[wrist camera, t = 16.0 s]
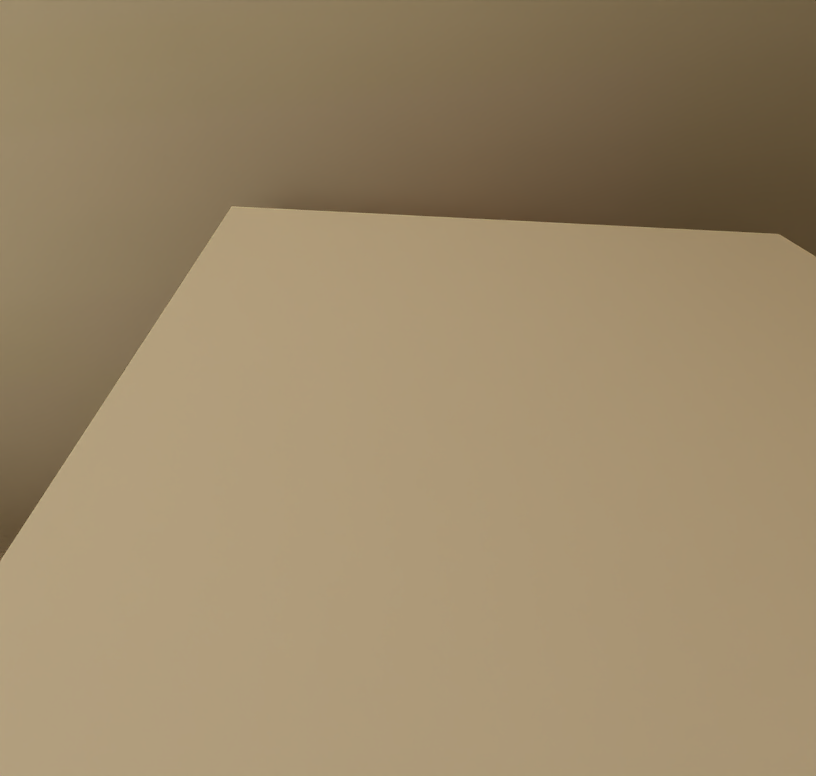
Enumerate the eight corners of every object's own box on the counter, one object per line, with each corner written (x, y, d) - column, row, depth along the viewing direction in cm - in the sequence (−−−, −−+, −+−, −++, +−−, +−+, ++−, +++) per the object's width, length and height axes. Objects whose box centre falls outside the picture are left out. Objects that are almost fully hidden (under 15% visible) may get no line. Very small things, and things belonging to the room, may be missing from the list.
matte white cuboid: (778, 233, 7) (1886, 910, 2) (588, 660, 13) (738, 1134, 8) (231, 206, 7) (-305, 1032, 1) (281, 663, 13) (211, 1175, 7)
